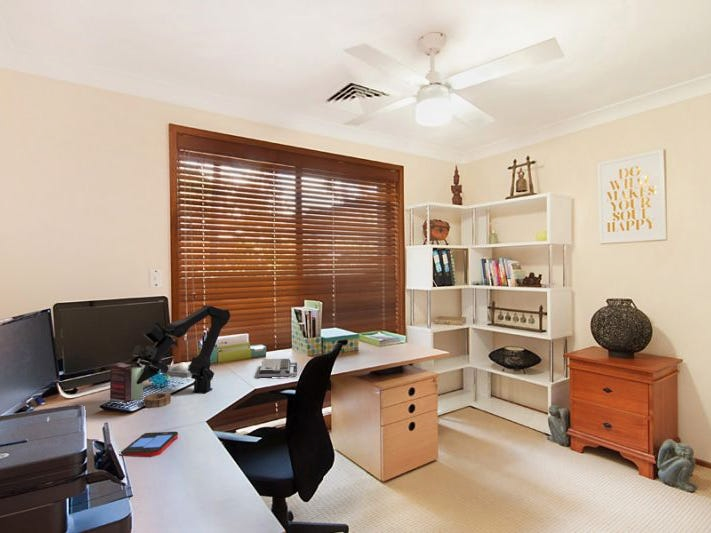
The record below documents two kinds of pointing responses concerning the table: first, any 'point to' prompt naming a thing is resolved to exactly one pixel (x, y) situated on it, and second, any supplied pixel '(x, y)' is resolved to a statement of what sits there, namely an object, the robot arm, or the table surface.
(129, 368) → the supplement box
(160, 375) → the blue virus toy
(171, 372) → the mouse tray
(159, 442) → the red dual-screen device
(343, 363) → the table surface
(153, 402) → the brown segmented ring
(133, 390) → the dowel
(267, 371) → the radio
